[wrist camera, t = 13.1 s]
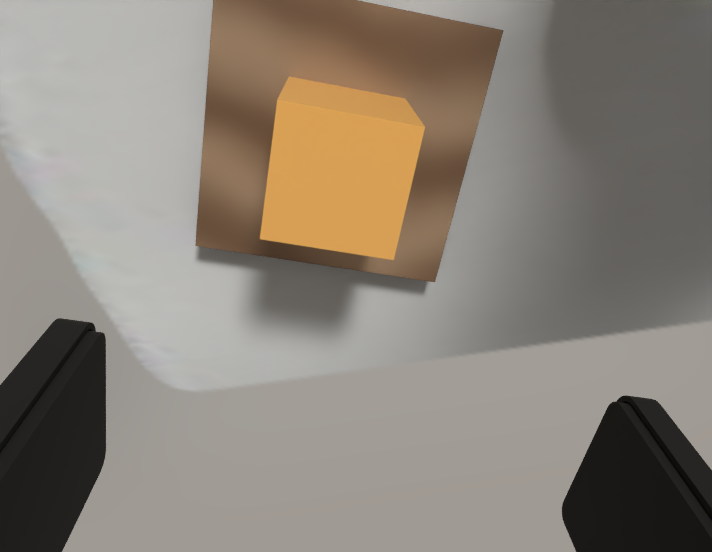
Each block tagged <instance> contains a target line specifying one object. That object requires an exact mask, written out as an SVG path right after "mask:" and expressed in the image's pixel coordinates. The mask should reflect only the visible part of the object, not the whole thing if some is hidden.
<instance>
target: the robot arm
mask: <svg viewBox="0 0 712 552" xmlns="http://www.w3.org/2000/svg"><path fill="white" fill-rule="evenodd" d="M105 341H106V340H105V335H104V333H101V332H96V331H95V326H94V324H93V323H90V322H83V321H75V320H68V319H56V320H55V321H54V322H53V323H52V324H51V325H50V327H49V328H48V329H47V330H46V331H45V333H44V334H43V335H42V336H41V337H40V338H39V340H38V341H37V342H36V343H35V344H34V346H33V347H32V348H31V349H30V351H29V352H28V353H27V354H26V355H25V356H24V358H23V359H22V360H21V361H20V362H19V364H18V365H17V366H16V367H15V368H14V370H13V371H12V372H11V373H10V374H9V375H8V377H7V378H6V379H5V380H4V381H3V383H2V384H1V385H0V552H62V550H63V548H64V546H65V544H66V542H67V540H68V538H69V536H70V534H71V532H72V530H73V528H74V525H75V523H76V521H77V519H78V517H79V515H80V513H81V511H82V509H83V507H84V505H85V503H86V501H87V499H88V497H89V494H90V492H91V490H92V488H93V486H94V484H95V482H96V480H97V478H98V476H99V474H100V472H101V469H102V466H103V463H104V459H105V452H106V344H105V343H106V342H105ZM562 517H563V521H564V524H565V526H566V529H567V531H568V533H569V535H570V538H571V540H572V542H573V545H574V547H575V550H576V552H712V470H711V469H710V468H709V467H708V465H707V464H706V463H705V461H704V460H703V459H702V458H701V456H700V455H699V454H698V452H697V451H696V450H695V449H694V447H693V446H692V445H691V443H690V442H689V441H688V440H687V438H686V437H685V436H684V434H683V433H682V432H681V431H680V429H679V428H678V427H677V425H676V424H675V423H674V422H673V420H672V419H671V418H670V417H669V415H668V414H667V413H666V411H665V410H664V409H663V408H662V406H661V405H660V404H659V403H658V402H657V401H656V400H653V399H647V398H640V397H633V396H622V397H620V398H619V399H618V400H617V402H612V403H611V404H610V405H609V406H608V408H607V410H606V412H605V414H604V416H603V419H602V420H601V423H600V425H599V427H598V429H597V431H596V434H595V435H594V438H593V440H592V442H591V444H590V446H589V448H588V450H587V453H586V455H585V457H584V459H583V461H582V463H581V465H580V467H579V470H578V472H577V474H576V476H575V478H574V480H573V482H572V484H571V486H570V489H569V491H568V493H567V495H566V497H565V499H564V502H563V506H562Z"/></svg>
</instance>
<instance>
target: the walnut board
mask: <svg viewBox="0 0 712 552" xmlns="http://www.w3.org/2000/svg"><path fill="white" fill-rule="evenodd" d="M502 34H503V30H498V29H494V28H489V27H484V26H479V25H474V24H469V23H464V22H459V21H455V20H450V19H445V18H440V17H435V16H430V15H425V14H421V13H416V12H411V11H406V10H401V9H396V8H391V7H387V6H382V5H377V4H372V3H367V2H362V1H357V0H213V13H212V26H211V40H210V54H209V68H208V81H207V95H206V109H205V123H204V136H203V150H202V164H201V178H200V191H199V205H198V219H197V233H196V246H201V247H207V248H214V249H220V250H227V251H233V252H240V253H247V254H253V255H260V256H266V257H273V258H279V259H286V260H293V261H299V262H306V263H312V264H319V265H325V266H332V267H339V268H345V269H352V270H358V271H365V272H371V273H378V274H385V275H391V276H398V277H404V278H411V279H417V280H424V281H431V282H435V280H436V276H437V272H438V269H439V265H440V261H441V258H442V254H443V250H444V247H445V243H446V239H447V236H448V232H449V228H450V225H451V221H452V217H453V214H454V210H455V206H456V202H457V199H458V195H459V191H460V188H461V184H462V180H463V177H464V173H465V169H466V166H467V162H468V158H469V155H470V151H471V147H472V144H473V140H474V136H475V133H476V129H477V125H478V122H479V118H480V114H481V111H482V107H483V103H484V100H485V96H486V92H487V89H488V85H489V81H490V78H491V74H492V70H493V67H494V63H495V59H496V56H497V52H498V48H499V45H500V41H501V37H502ZM288 77H294V78H300V79H305V80H310V81H315V82H321V83H326V84H331V85H336V86H342V87H347V88H352V89H358V90H363V91H368V92H373V93H379V94H384V95H389V96H394V97H400V98H405V99H406V100H407V102H408V103H409V104H410V106H411V107H412V109H413V110H414V112H415V113H416V115H417V116H418V117H419V119H420V120H421V122H422V123H423V125H424V126H425V130H424V134H423V138H422V143H421V147H420V151H419V155H418V159H417V164H416V168H415V172H414V176H413V181H412V185H411V189H410V193H409V198H408V202H407V206H406V210H405V214H404V219H403V223H402V227H401V231H400V236H399V240H398V244H397V248H396V253H395V257H394V260H389V259H383V258H377V257H370V256H364V255H358V254H351V253H345V252H338V251H332V250H326V249H319V248H313V247H307V246H300V245H294V244H288V243H281V242H275V241H268V240H262V239H260V233H261V225H262V217H263V209H264V201H265V193H266V185H267V177H268V169H269V161H270V154H271V146H272V138H273V130H274V122H275V114H276V106H277V99H278V97H279V95H280V93H281V91H282V89H283V87H284V85H285V83H286V81H287V79H288Z"/></svg>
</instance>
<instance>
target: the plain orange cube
mask: <svg viewBox="0 0 712 552" xmlns="http://www.w3.org/2000/svg"><path fill="white" fill-rule="evenodd" d="M424 130H425V126H424V125H423V123H422V122H421V120H420V119H419V117H418V116H417V115H416V113H415V112H414V110H413V109H412V107H411V106H410V104H409V103H408V102H407V100H406V99H405V98H400V97H394V96H389V95H384V94H379V93H373V92H368V91H363V90H358V89H352V88H347V87H342V86H336V85H331V84H326V83H321V82H315V81H310V80H305V79H300V78H294V77H288V79H287V81H286V83H285V85H284V87H283V89H282V91H281V93H280V95H279V97H278V99H277V106H276V114H275V122H274V130H273V138H272V146H271V154H270V161H269V169H268V177H267V185H266V193H265V201H264V209H263V217H262V225H261V233H260V239H262V240H268V241H275V242H281V243H288V244H294V245H300V246H307V247H313V248H319V249H326V250H332V251H338V252H345V253H351V254H358V255H364V256H370V257H377V258H383V259H389V260H394V257H395V253H396V248H397V244H398V240H399V236H400V231H401V227H402V223H403V219H404V214H405V210H406V206H407V202H408V198H409V193H410V189H411V185H412V181H413V176H414V172H415V168H416V164H417V159H418V155H419V151H420V147H421V143H422V138H423V134H424Z"/></svg>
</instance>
